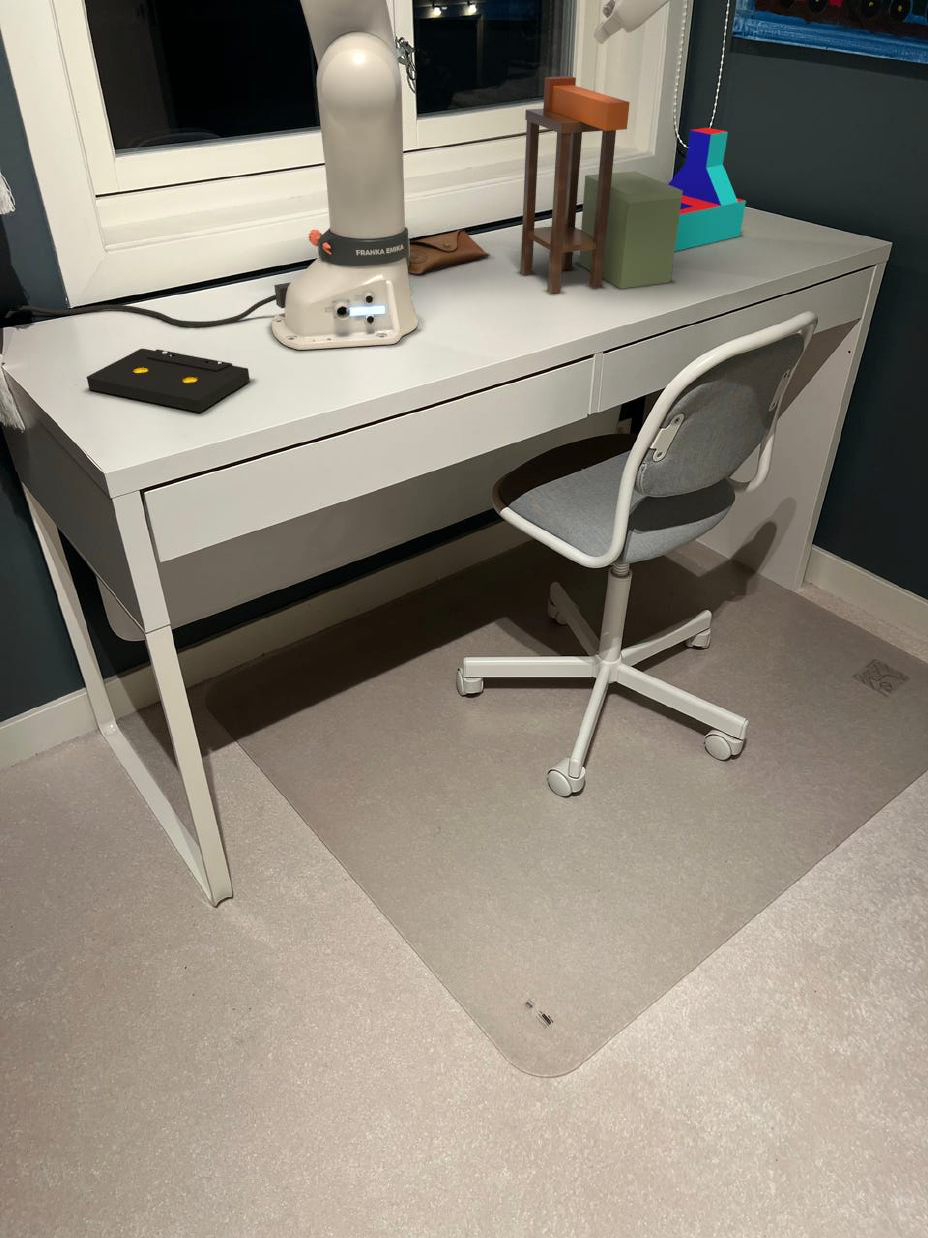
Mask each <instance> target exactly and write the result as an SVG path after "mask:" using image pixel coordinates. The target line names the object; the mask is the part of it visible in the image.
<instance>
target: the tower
mask: <svg viewBox="0 0 928 1238" xmlns="http://www.w3.org/2000/svg"><path fill="white" fill-rule="evenodd" d="M576 80H577V77H575V76H571V75H567V76H565V75H564V76H548V77H547V76H546V77H544V90H543V106H542V107H543V108H542V109H544V110H546V111H552V112H555V113H558V114H560V115H563V116H566V117H569V118H572V119H574V120H577V121H580V122H583V123H586V124H588V125H591V126H594V127H597V128H600V129H602V130H605V131H611V130H616V131H623V130H628V121H629V115H630V114H629V112H630V103H631V102H630V101H627V100H624V99H620V98H617V97H614V96H611V95H607V94H604V93H601V92H597V91H594V90H591V89H588V88H584V87H581V86H577V85H576V82H577V81H576Z"/></svg>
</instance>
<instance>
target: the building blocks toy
mask: <svg viewBox="0 0 928 1238" xmlns="http://www.w3.org/2000/svg"><path fill="white" fill-rule="evenodd" d="M728 133H729V132H728V131H726V130H721V129H715V128H711V127H701V128H697V129H696V128H695V129H690V132H689V138H688V148H687V153H686V160H685V164H684V165H683V166H682V167H681V168H680V169H679V171H677V173H676V174H675V175H674V176H673V177H672V179H671V180H670V181H669V182H668V183H667V184H668V185H670V186H673V187H675V188H678V189H680V190H683V192H682V199H681V207H680V214H679V221H678V229H677V236H676V244H675V251H674V252H678V251H681V250H685V249H690V248H695V247H698V246H703V245H707V244H711V243H716V242H720V241H724V240H727V239H732V238H733V239H734V238H736V237H740V236H741V232H742V228H743V220H744V214H745V209H746V203H747V200H746V199H741V198H738V197H736V194H735V191H734V189H733V186H732V184H731V181H730V179H729V176H728V174H727V171H726V169H725V167H724V159H725V152H726V146H727V140H728Z"/></svg>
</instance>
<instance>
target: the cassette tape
mask: <svg viewBox="0 0 928 1238" xmlns="http://www.w3.org/2000/svg"><path fill="white" fill-rule="evenodd" d="M164 352H165V353H164ZM86 381H87V385H88V389H89V390H93V391H98V392H101V393H107V394H111V395H115V396H116V395H117V396H121V397H126V398H130V399H134V400H140V401H143V402H150V403H154V404H158V405H164V406H168V407H174V408H177V409H183V410H188V411H193V412H197V413H202V412H203V411H204V410H206V409H208V408H209V407H211V406H212V405H214V404H215V403H217V402H218V401H220V400H221V399H223V398H225V397H226V396H228V395H229V394H231V393H232V392H234V391H235V390H237V389H239V388H240V387H242V386H243V385H245V384H247V383H248V382H250V373H249V368H248V367H242V366H238V365H237V366H236V365H234V364H233V363H232V362H228V361H221V360H217V359H211V358H206V357H200V356H196V355H189V354H185V353H180V352H175V351H169V350H163V349H158V348H157V349H155V350H153V349H148V348H139V349H137V350H135V351H134V352H132V353H130V354H128V355H126V356H124V357H121V358H120V359H118V360H116V361H114V362H112V363H110V364H108V365H107V366H105V367H103V368H101V369H99V370H97V371H95V372H93V373H91V374H89V375H87V376H86Z"/></svg>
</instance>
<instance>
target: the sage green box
mask: <svg viewBox="0 0 928 1238" xmlns="http://www.w3.org/2000/svg"><path fill="white" fill-rule="evenodd" d="M598 177H599V173H597V174H587V175H584V186H583V187H584V188H583V199H582V210H581V211H582V212H581V213H582V214H581V226H580V230H581V231H583V232H585V233H587V234H589V235H591V236H592V237H593V236H594V224H595V212H596V201H597V189H598ZM682 192H683V190H680V189H678V188H675V187H673V186H670V185H668V183H665V182H662V181H660V180H657V179H655V178H653V177H651V176H648V175H645V174H642V173H640V172H638V171H636V170H634V171H624V172H623V171H622V172H612V180H611V191H610V202H609V212H608V223H607V234H606V245H605V255H604V266H603V277H602V280H605V281H606V282H608V283H610V284H612V285H614V286H615V287H617V288H618V289H621V290H622V289H628V288H630V289H631V288H636V287H643V286H644V287H645V286H652V285H660V284H661V285H662V284H669V283H671V280H672V271H673V265H674V258H675V252H676V251H675V244H676V236H677V229H678V221H679V214H680V207H681V199H682ZM578 252H579V253H578V265H580V266H582V267H583V268H585V269H587V270H588V271H589V272H590V271H591V259H592V249H591V250H582V251H578Z"/></svg>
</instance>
